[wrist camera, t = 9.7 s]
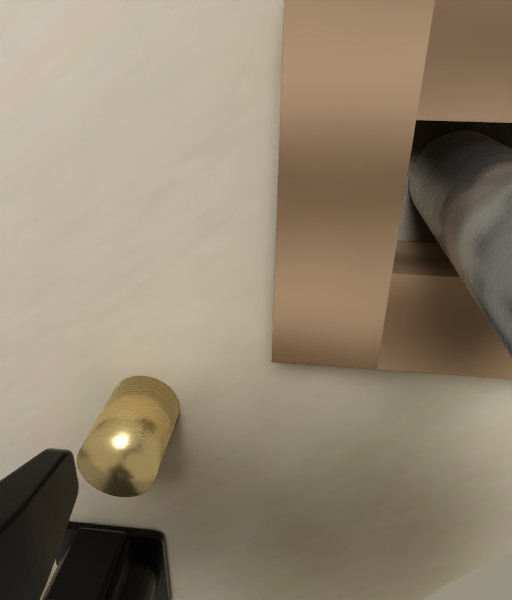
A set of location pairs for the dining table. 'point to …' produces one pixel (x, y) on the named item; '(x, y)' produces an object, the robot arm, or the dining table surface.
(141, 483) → the short pin
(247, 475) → the dining table surface
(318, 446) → the dining table surface
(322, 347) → the hole block
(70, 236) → the dining table surface
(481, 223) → the tall pin
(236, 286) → the dining table surface
